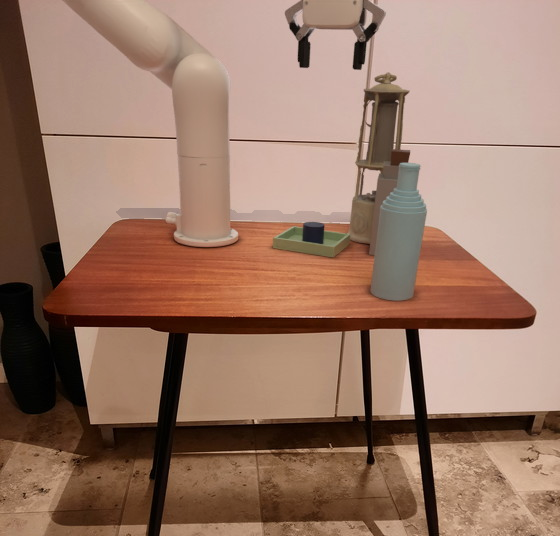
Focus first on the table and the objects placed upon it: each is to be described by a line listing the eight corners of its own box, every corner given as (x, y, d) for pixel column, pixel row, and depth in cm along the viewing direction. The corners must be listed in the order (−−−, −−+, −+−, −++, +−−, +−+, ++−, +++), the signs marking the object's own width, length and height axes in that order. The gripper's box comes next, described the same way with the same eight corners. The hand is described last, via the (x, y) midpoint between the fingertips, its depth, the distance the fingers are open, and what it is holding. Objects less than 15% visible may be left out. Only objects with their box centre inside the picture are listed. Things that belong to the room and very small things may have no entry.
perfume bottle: (405, 258, 101) (420, 154, 92) (368, 254, 102) (380, 151, 93) (405, 248, 107) (420, 149, 98) (370, 245, 108) (382, 147, 99)
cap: (327, 245, 105) (329, 225, 103) (309, 247, 103) (310, 228, 101) (315, 239, 108) (317, 220, 106) (298, 241, 106) (299, 222, 104)
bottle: (365, 296, 83) (380, 164, 74) (376, 283, 88) (391, 159, 79) (408, 303, 81) (430, 169, 72) (416, 290, 86) (437, 163, 77)
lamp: (352, 245, 107) (369, 71, 93) (339, 228, 119) (352, 71, 104) (403, 245, 108) (427, 73, 94) (385, 228, 120) (405, 73, 105)
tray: (272, 248, 104) (272, 237, 103) (292, 235, 112) (293, 226, 111) (333, 257, 100) (334, 246, 99) (349, 244, 108) (350, 234, 107)
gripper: (398, -54, 86) (384, 70, 94) (296, -49, 92) (292, 67, 100) (386, -64, 80) (373, 70, 88) (278, -58, 86) (275, 66, 94)
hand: (330, 68), depth 94 cm, fingers open, 9 cm apart
